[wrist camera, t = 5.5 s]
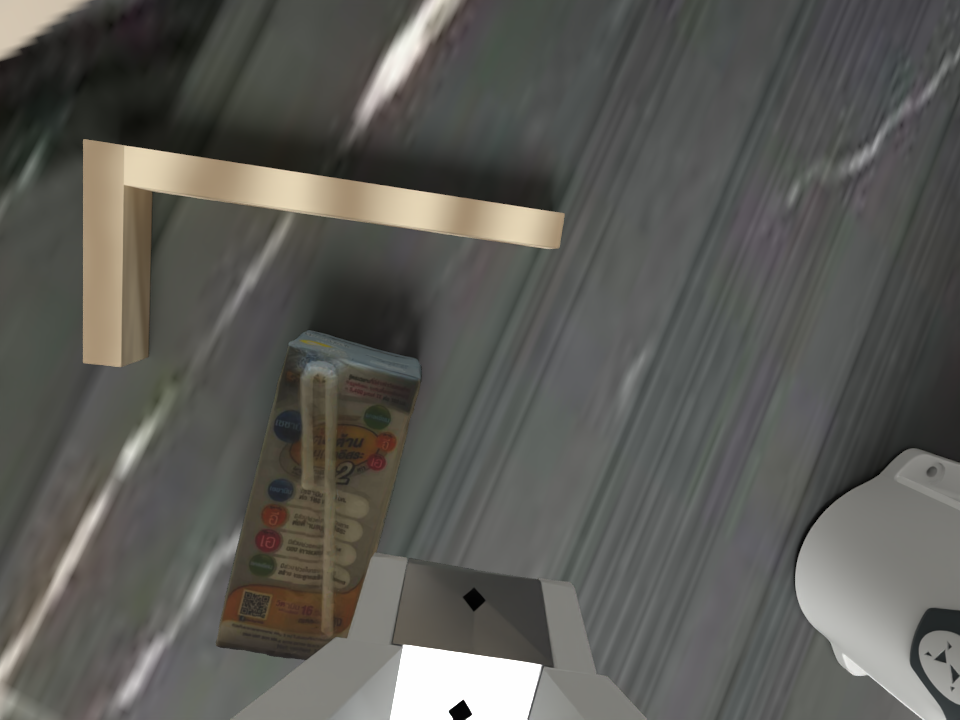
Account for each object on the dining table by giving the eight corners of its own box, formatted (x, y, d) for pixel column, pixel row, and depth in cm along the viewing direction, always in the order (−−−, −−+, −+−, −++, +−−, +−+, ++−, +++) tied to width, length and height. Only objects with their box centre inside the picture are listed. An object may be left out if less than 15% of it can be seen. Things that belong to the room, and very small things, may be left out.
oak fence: (552, 217, 34) (564, 213, 31) (524, 398, 36) (532, 410, 33) (116, 150, 30) (83, 139, 27) (113, 353, 33) (83, 363, 30)
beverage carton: (428, 357, 35) (428, 380, 28) (356, 609, 38) (341, 682, 31) (307, 324, 34) (279, 341, 27) (243, 587, 37) (204, 658, 30)
